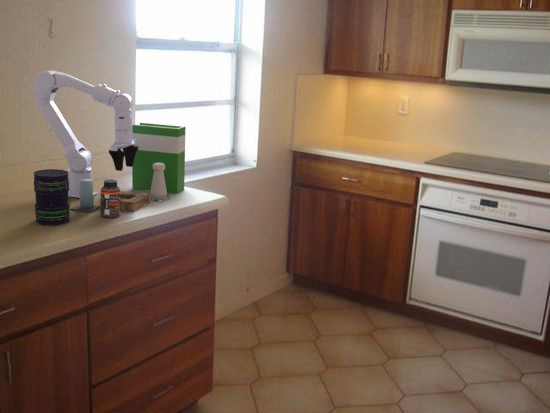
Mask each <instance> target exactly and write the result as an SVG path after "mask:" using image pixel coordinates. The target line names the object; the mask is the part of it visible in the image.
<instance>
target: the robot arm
mask: <svg viewBox="0 0 550 413" xmlns="http://www.w3.org/2000/svg"><path fill="white" fill-rule="evenodd" d="M32 84H33V87H34V96H35V103H36V105H37V107H38V108H39V110H40V111H41V113H42V115H43V117H44V118H45V119H46V122H47V123H48V125H49V126H50V128H51V129H52V131H53V133H54V134H55V136H56V137H57V139H58V140H59V142H60V144H61V145H62V147H63V149H64V155H65V158H66V159H67V165H68V167H69V168H68V169H65V171H68V177H69V191H68V198H70V197H71V198H79V199H80V189H79V180H81V179H92V180H93V178H92V177H93V175H92V174H93V171H92V167H91V165H92V163H93V162H94V156H93V154H92V153H91V151H90V150H88V149H87V148H86V147H85V145H83V143H81V142H80V141H79V140H78V139H77V137H76V135H75V134H74V132H73V131H72V129H71V127H70V126H69V124H68V123H67V121H66V119H65V118H64V116H63V114H62V113H61V111H60V109H59V108H58V106H57V105H56V103H55V101H54V99H55V96H56V93H57V91H58V90H59V89H60V88H65V87H68V88H70V89H73V90H77V91H79V92H82V93H85V94H88V95H90V96H91V98H92V100H93V101H95V102H97V103H100V104H103V105H105V106H108V107H110V108H113V109H114V142H113V144H110V149H108V154H109V155H110V157H111V159H112V162H113V165H114V167H115V168H114V169H115V171H119V172H121V171H123V169H124V160H125V167H129V168H132V166H133V162H134V158H135V155H136V152H137V150H138V146H134V145H136V140H135V139H132V125H133V116H132V106H133V105H134V101H133V98H132V97H131V96H130V94H128V93H126V92H121V91H120V89H116V90H115V89H112V88H110V87H108V86H107V84H105V83H103V84H99V83H98V84H96V85H93V84H91V83H89V82H86V81H84V80H81V79H79V78H76V77H75V76H74V75H70V74H68V73H65V72H63V71H58V70H56V69H49V70H41V71H39V72H37V74H36V75H35V78H34V81H33V83H32ZM97 194H98V192H95V191H93V196H96V195H97Z"/></svg>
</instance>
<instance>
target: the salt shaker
mask: <svg viewBox="0 0 550 413" xmlns="http://www.w3.org/2000/svg"><path fill="white" fill-rule="evenodd" d="M153 170H154V175H153V180H152V185H151V191H149V193H150V194H149V195H150V197H151V199H152V200H153V201H155V200H156V202H161V200H162V201H165V198H166V197H167V194H168V193H167V191H166V185H165V178H164V172H163V170H165V164H164V163H154V164H153Z"/></svg>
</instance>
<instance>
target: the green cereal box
mask: <svg viewBox="0 0 550 413" xmlns="http://www.w3.org/2000/svg"><path fill="white" fill-rule="evenodd" d="M132 139H135V140H136V145H134V146H138V150H137V152H136V155H135V158H134V162H133V166H132V167H131V169H132V171H131V175H132V180H131V181H132V183H131V184H132V186H131V187H132V188H131V190H136V191H137V190H138V191H144V190H149V191H148V192H150V191H151V185H152V180H153V175H154V170H153V164H154V163H164V164H165V170H163V172H164V178H165V185H166V191H167V194H172V193H173V194H172V195H178V194H180V193H181V192H183V191H184V190H185V175H186V174H185V173H186V172H185V170H186V169H185V167H186V162H185V161H186V160H185V159H186V126H182V125H174V124H163V123H162V124H161V123H150V122H149V123H148V122H139V124H132Z"/></svg>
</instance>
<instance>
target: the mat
mask: <svg viewBox="0 0 550 413" xmlns="http://www.w3.org/2000/svg"><path fill="white" fill-rule="evenodd" d="M97 210H101V206H100V205H94V208H92V209H81V208H80V204H78V205H75V206H73V207H70V212H71V211H72V212H79V213H87V214H90V213H93V212H94V211H97Z"/></svg>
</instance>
